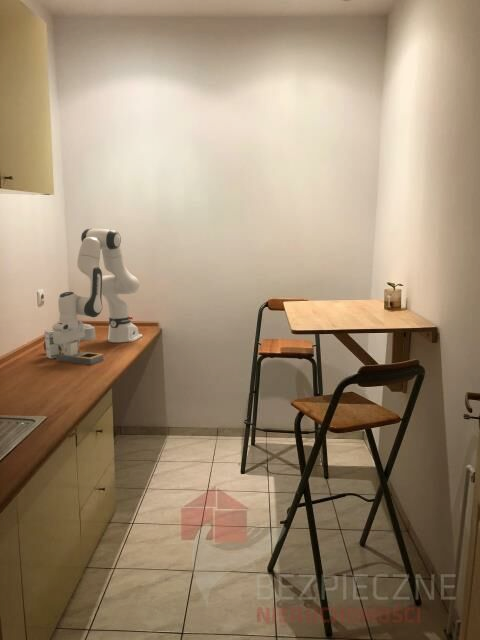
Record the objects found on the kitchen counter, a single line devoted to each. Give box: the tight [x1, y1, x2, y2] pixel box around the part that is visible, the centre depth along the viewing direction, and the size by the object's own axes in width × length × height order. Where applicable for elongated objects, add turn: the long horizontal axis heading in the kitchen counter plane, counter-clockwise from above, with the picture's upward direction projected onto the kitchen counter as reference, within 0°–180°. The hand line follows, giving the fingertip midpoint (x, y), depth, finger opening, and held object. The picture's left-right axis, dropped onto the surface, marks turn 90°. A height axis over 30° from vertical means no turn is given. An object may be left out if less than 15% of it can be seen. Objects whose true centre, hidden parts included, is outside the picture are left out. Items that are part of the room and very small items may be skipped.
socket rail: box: [56, 351, 105, 366], centre depth 276 cm, size 10×22×3 cm, turn 66°
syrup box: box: [43, 329, 62, 359], centre depth 282 cm, size 6×6×14 cm
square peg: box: [63, 341, 79, 356], centre depth 278 cm, size 5×5×9 cm
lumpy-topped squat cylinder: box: [80, 323, 96, 342], centre depth 325 cm, size 10×13×9 cm
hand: (70, 349), depth 278 cm, fingers open, 8 cm apart
